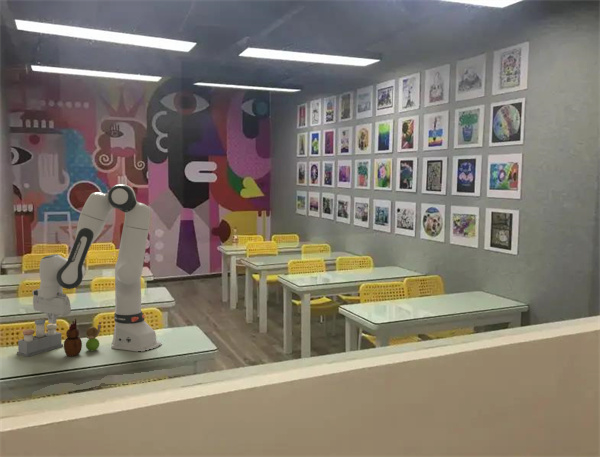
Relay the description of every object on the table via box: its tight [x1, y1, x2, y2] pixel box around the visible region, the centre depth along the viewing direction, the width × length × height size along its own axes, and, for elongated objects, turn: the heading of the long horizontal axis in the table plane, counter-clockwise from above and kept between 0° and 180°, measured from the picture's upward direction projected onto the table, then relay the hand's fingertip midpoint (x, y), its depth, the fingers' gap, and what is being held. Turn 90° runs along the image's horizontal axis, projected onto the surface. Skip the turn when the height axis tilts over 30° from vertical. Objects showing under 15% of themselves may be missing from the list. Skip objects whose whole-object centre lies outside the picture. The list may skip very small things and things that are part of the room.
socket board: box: [16, 331, 64, 358], centre depth 220 cm, size 7×17×6 cm, turn 153°
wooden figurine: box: [63, 318, 83, 357], centre depth 214 cm, size 7×6×15 cm
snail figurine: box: [85, 321, 102, 352], centre depth 222 cm, size 5×6×12 cm
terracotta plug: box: [22, 329, 35, 342], centre depth 215 cm, size 4×4×8 cm
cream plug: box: [46, 323, 58, 335], centre depth 225 cm, size 4×4×8 cm
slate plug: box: [34, 318, 46, 339], centre depth 220 cm, size 4×4×8 cm
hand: (52, 323), depth 225 cm, fingers closed
